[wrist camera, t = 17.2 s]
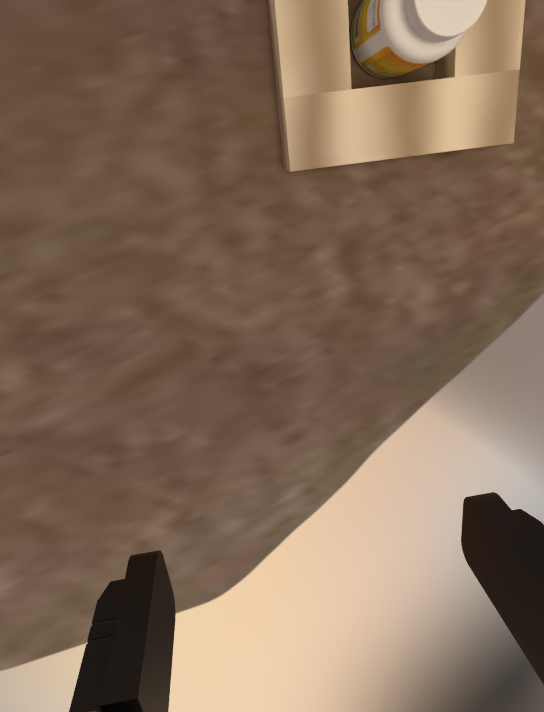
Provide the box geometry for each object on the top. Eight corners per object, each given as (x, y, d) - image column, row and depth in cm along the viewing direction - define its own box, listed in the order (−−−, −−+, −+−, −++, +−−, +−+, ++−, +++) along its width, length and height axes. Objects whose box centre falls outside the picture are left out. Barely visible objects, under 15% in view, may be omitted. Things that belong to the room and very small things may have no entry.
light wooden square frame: (284, 170, 35) (290, 171, 32) (256, -111, 29) (261, -139, 26) (490, 143, 36) (513, 142, 33) (508, -134, 30) (538, -163, 27)
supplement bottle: (436, 51, 33) (519, 12, 24) (370, 96, 34) (427, 75, 25) (405, -32, 31) (482, -106, 22) (334, 18, 32) (382, -35, 23)
